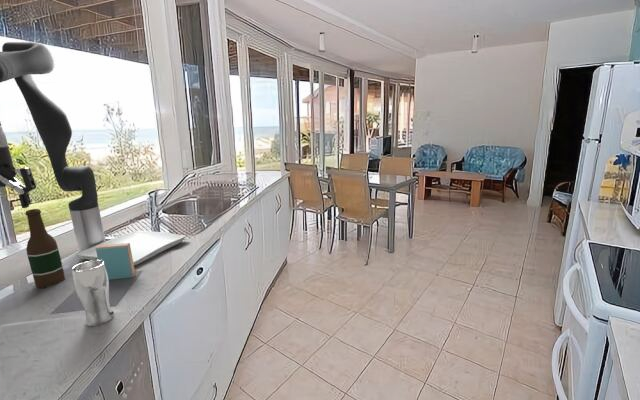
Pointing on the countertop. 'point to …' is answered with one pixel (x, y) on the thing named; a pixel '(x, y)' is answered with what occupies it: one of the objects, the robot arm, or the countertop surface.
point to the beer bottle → (43, 253)
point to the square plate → (139, 244)
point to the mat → (115, 295)
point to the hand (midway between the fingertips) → (5, 209)
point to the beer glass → (93, 291)
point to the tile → (117, 260)
